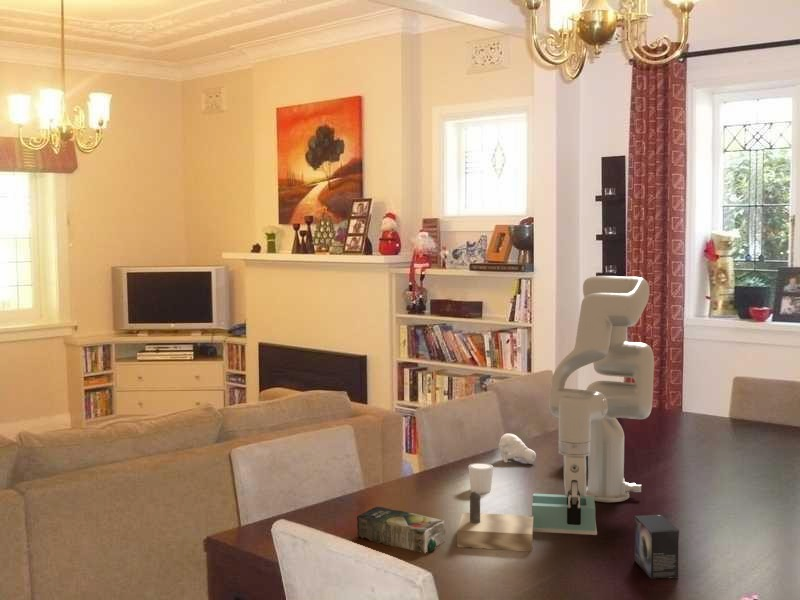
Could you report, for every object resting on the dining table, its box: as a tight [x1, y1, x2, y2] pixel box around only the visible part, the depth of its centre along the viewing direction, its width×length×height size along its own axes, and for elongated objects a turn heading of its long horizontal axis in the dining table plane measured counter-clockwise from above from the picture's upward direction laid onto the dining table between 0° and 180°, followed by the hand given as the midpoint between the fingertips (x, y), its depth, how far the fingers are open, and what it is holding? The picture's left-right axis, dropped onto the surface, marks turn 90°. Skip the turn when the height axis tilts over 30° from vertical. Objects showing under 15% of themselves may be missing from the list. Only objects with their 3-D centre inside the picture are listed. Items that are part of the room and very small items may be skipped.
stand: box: [456, 491, 534, 552], centre depth 214 cm, size 17×13×11 cm
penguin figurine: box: [498, 433, 537, 465], centre depth 283 cm, size 6×8×12 cm
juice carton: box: [356, 506, 446, 554], centre depth 214 cm, size 20×10×6 cm, turn 58°
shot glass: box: [468, 462, 494, 494], centre depth 253 cm, size 7×7×7 cm
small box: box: [634, 514, 680, 580], centre depth 195 cm, size 11×6×10 cm, turn 5°
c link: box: [531, 493, 596, 531], centre depth 224 cm, size 15×10×6 cm, turn 80°
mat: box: [533, 519, 598, 536], centre depth 224 cm, size 15×12×1 cm
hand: (573, 518), depth 220 cm, fingers open, 8 cm apart
